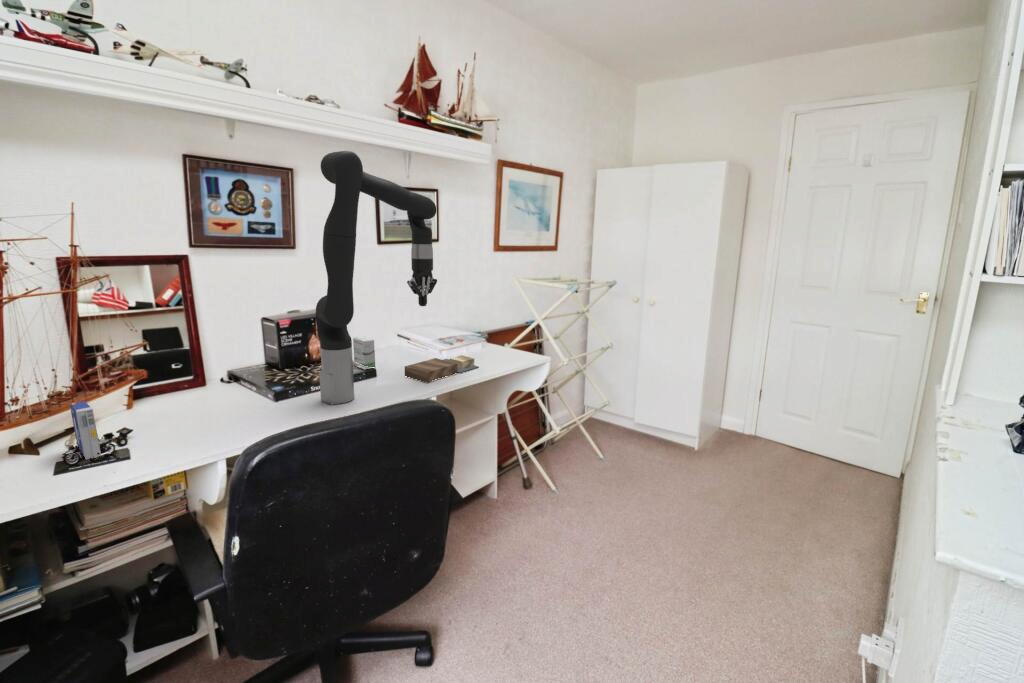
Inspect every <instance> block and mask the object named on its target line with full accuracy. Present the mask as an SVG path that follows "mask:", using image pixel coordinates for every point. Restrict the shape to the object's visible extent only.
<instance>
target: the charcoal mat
mask: <svg viewBox="0 0 1024 683" xmlns="http://www.w3.org/2000/svg"><path fill="white" fill-rule="evenodd" d="M443 360H445V361H449V362H450V358H449V359H448V358H445V359H443ZM479 368H480V367H479V365H478V366H477V365H475V364H474V366H471V367H467V368H464V369H461V368H458V374H459V373H461V374H464V373H463V372H465V373H467V371H468V372H470V370H471V371H473V370H477V369H479Z"/></svg>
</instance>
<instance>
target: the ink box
mask: <svg viewBox="0 0 1024 683" xmlns="http://www.w3.org/2000/svg"><path fill="white" fill-rule="evenodd" d="M352 344H353V345H352V348H353V363H354V362H357V363H359V364H362V365H364V366H368V367H375V368H376V353H375V352H376V351H375V339H372V338H369V337H366V336H359V337H358V336H357V337H353V338H352Z"/></svg>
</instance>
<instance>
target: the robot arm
mask: <svg viewBox="0 0 1024 683" xmlns="http://www.w3.org/2000/svg"><path fill="white" fill-rule="evenodd" d="M320 161H321V162H320V171H321V174H322V175H323V177H324V178H325V179H326V181H328V182H330V183H331V184H333V185H335V188H334V189H335V190H334V200H333V204H332V206H331V209H330V211H329V213H328V215H327V218H326V220H325V224H324V225H323V226H324V227H323V235H322V256H323V260H324V265H325V271H326V276H327V289H326V290H327V291H326V295H324V296H322V297H320V299H319V300H318V301H317V303H316V305H315V321H316V332H317V337H318V341H319V344H320V345H319V347H320V359H321V360H320V362H321V363H320V364H321V371H319V373H318V374H319V376H318V377H319V391H320V393H319V394H320V401H321V402H324V403H327V404H330V405H332V406H333V405H337V404H340V405H341V404H345V403H349V402H352V401H353V400H354V399H355V384H354V366H353V365H354V360H353V345H352V344H353V339H352V337H351V335H350V333H349V331H348V327H347V326H348V325H349V324H350V323H351V321H352V320H353V317H354V313H355V310H354V309H355V308H354V305H355V304H354V287H353V285H354V284H353V282H354V272H355V256H356V247H357V246H356V244H357V224H358V210H359V201H360V200H359V199H360V194H361V193H363V194H365V195H368V196H370V197H373V198H374V199H376V200H378V201H381V202H382V203H385V204H387V205H389V206H391V207H393V208H395V209H397V210H400V211H404V212H406V214H407V218H408V223H409V227H410V230H411V250H410V251H411V252H410V255H411V256H410V257H411V270H412V276H411V279H410V280H407V282H406V283H407V284H408V287H409V288H410V289H411V291H412V293H413V294H414V295H417V296H418V297H417V298H418V305H419V307H426V306H427V304H428V295H430V294H432V292H433V290H434V288H435V287H436V285H437V282H438V279H437V278H434V277H433V273H432V271H433V270H434V249H433V231H432V229H431V227H428V226H427V225H426V223H425V222H426V221H425V220H431V219H433V218H434V217H435V216H436V214H437V205H436V203H435V202H434V201H433V200H432V199H431V198H429V197H427V196H425V195H423V194H419V193H416V192H413V191H410V190H409V189H406V188H405V187H403V186H401V185H399V184H398V183H396V182H392V181H391V180H387V179H386V178H385V179H384V178H382V177H379V176H375V175H373V174H370V173H367V172H365V171H364V167H363V163H362V159H361V158H360V157H359V156H358V154H357V153H356V152H354V151H352V150H341V151H332V152H329V153H327V154H326V155H324V156H323V157H322V158H321V160H320ZM351 400H352V401H351Z"/></svg>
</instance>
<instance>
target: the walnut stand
mask: <svg viewBox="0 0 1024 683" xmlns="http://www.w3.org/2000/svg"><path fill="white" fill-rule="evenodd" d="M455 373H458V364H457V363H453V362H449V361H445V360H444V359H439V358H435V357H434V358H431V359H427V360H425V361H420V362H416V363H413V364H408V365H405V366H404V377H405V376H407V377H406V378H408V377H410V378H409V379H411V378H413V379H412V380H414V379H417V380H416V381H418V380H421V381H424V382H423V383H425V382H430V381H432V380H435V379H438V378H442V377H445V376H449V375H452V374H455ZM458 374H459V373H458ZM455 375H456V374H455ZM452 376H453V375H452ZM449 377H450V376H449ZM445 378H446V377H445ZM442 379H443V378H442ZM421 381H420V382H421ZM430 383H431V382H430Z"/></svg>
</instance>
